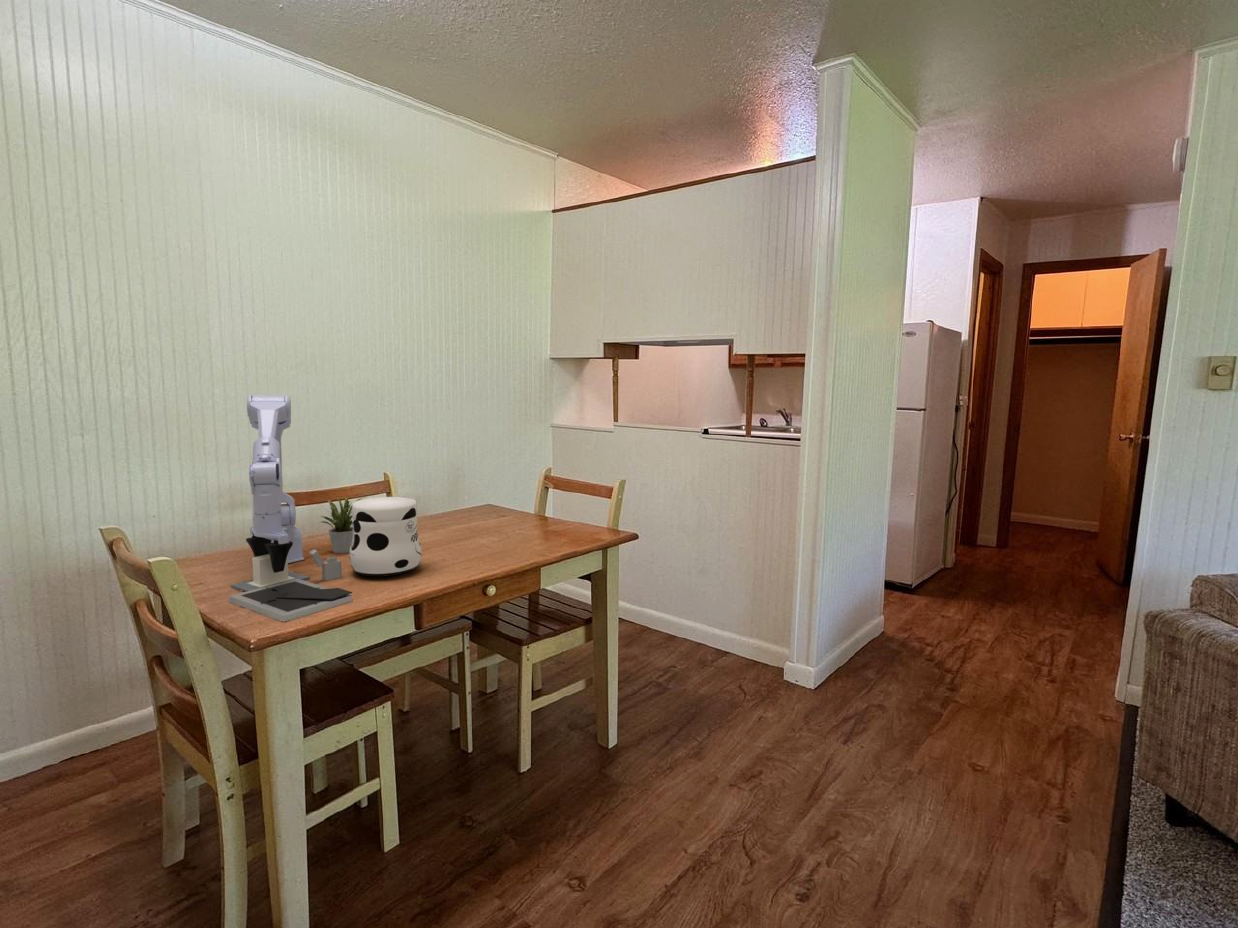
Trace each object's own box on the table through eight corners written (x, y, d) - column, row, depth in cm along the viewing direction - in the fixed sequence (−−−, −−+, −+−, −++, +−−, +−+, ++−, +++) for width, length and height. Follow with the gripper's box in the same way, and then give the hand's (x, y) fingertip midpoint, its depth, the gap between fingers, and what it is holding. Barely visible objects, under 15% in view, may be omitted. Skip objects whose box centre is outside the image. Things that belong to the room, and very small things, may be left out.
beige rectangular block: (253, 582, 154) (252, 557, 154) (281, 575, 160) (280, 551, 159) (260, 585, 152) (259, 560, 152) (288, 578, 158) (287, 554, 157)
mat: (288, 573, 164) (288, 570, 164) (309, 579, 160) (309, 576, 160) (231, 587, 152) (230, 584, 152) (252, 594, 148) (252, 591, 148)
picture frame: (352, 604, 145) (298, 587, 156) (352, 591, 145) (297, 575, 156) (283, 625, 132) (229, 605, 143) (283, 612, 131) (228, 592, 142)
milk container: (436, 568, 170) (434, 500, 168) (381, 585, 156) (379, 511, 153) (390, 558, 179) (388, 493, 177) (335, 574, 164) (332, 503, 162)
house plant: (383, 545, 192) (381, 490, 190) (360, 558, 179) (358, 499, 177) (337, 543, 194) (335, 489, 192) (310, 556, 180) (308, 497, 178)
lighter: (338, 576, 163) (337, 544, 162) (342, 577, 162) (340, 545, 161) (309, 582, 157) (308, 549, 156) (312, 583, 156) (311, 551, 155)
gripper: (300, 513, 153) (303, 570, 155) (269, 506, 161) (272, 559, 163) (269, 518, 147) (272, 577, 149) (239, 510, 156) (242, 565, 157)
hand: (270, 568), depth 156 cm, fingers open, 7 cm apart
